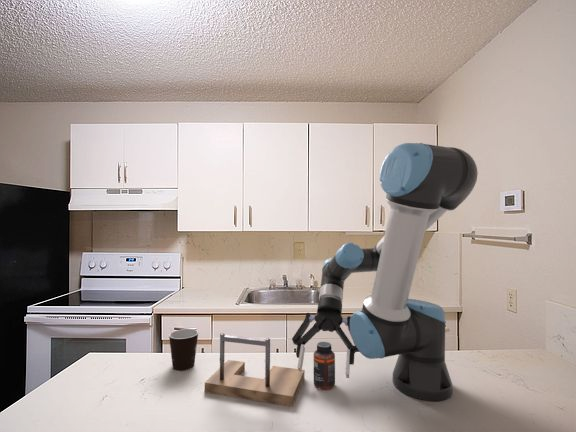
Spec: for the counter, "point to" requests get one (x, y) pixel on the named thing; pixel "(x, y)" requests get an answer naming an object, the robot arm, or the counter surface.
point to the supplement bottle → (324, 366)
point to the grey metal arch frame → (245, 340)
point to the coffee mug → (183, 348)
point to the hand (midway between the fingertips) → (322, 373)
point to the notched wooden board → (257, 384)
